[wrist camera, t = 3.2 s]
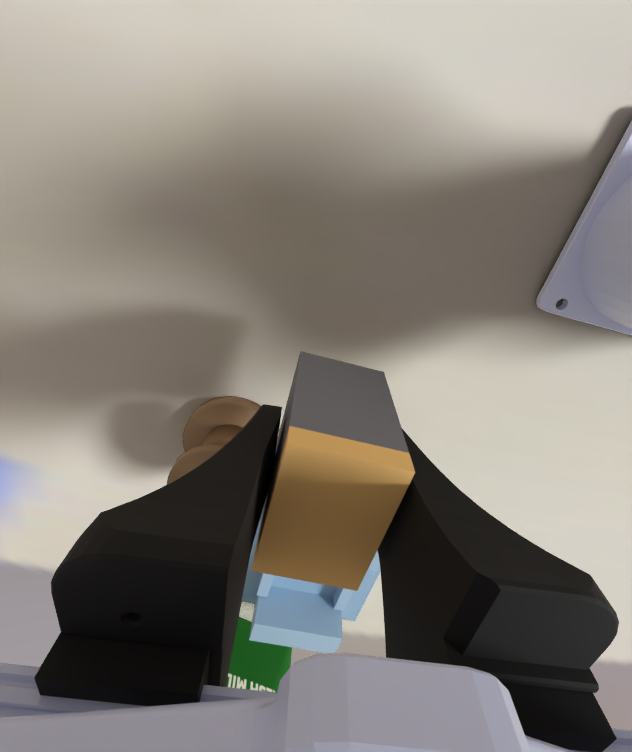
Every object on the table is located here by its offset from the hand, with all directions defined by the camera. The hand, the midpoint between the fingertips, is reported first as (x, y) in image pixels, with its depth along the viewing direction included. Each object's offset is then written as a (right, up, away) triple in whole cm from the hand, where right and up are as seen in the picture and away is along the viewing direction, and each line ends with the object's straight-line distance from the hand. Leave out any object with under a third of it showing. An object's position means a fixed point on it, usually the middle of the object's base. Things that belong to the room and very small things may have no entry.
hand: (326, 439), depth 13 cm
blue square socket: (-1, -9, +12) cm, 16 cm away
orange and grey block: (0, +1, +1) cm, 2 cm away
